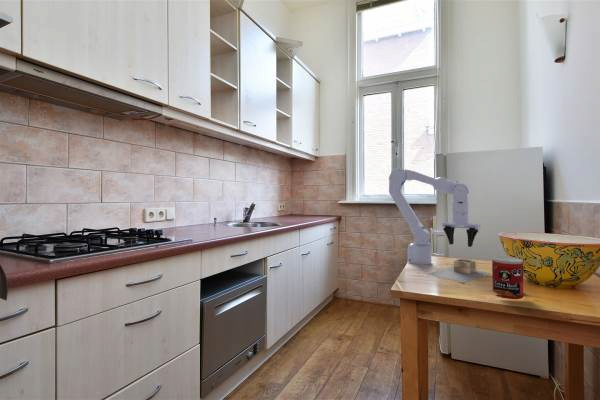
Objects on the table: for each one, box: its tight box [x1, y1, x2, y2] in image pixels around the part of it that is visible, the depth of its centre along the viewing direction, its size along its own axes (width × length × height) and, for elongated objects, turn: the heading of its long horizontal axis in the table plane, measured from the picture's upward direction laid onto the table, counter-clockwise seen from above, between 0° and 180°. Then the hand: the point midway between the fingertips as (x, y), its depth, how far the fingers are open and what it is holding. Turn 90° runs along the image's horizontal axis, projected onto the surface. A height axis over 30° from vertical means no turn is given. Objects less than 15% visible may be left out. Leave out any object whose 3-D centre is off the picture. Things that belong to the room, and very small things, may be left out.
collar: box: [453, 258, 477, 274], centre depth 113 cm, size 6×6×4 cm
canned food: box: [491, 256, 524, 300], centre depth 90 cm, size 8×8×11 cm
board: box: [426, 265, 491, 283], centre depth 110 cm, size 14×20×1 cm
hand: (460, 245), depth 123 cm, fingers open, 7 cm apart
